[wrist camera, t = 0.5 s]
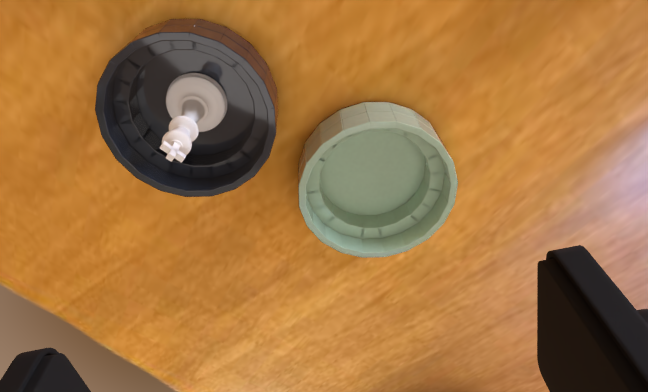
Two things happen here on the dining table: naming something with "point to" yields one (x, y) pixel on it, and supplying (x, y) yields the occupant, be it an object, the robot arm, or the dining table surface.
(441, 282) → the dining table surface
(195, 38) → the dark bowl
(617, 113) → the dining table surface
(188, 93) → the chess piece
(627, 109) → the dining table surface
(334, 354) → the dining table surface
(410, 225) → the green bowl
